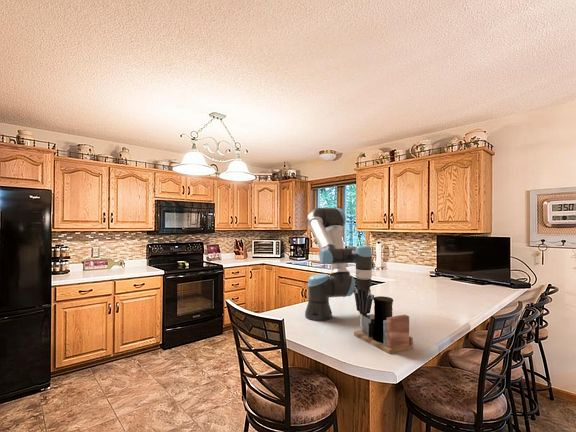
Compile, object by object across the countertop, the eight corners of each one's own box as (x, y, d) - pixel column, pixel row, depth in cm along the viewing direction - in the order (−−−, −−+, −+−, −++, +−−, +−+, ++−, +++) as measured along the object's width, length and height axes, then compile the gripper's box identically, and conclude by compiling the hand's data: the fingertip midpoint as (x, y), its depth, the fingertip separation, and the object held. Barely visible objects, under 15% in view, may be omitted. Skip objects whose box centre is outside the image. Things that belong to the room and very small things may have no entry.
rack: (353, 335, 145) (353, 306, 145) (375, 331, 151) (375, 303, 151) (389, 353, 124) (389, 320, 125) (412, 348, 130) (412, 316, 130)
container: (389, 335, 141) (389, 295, 141) (397, 343, 132) (396, 300, 132) (370, 335, 140) (370, 295, 141) (376, 343, 131) (376, 300, 132)
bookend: (358, 332, 144) (358, 316, 144) (375, 329, 148) (375, 313, 149) (368, 337, 138) (368, 320, 138) (385, 333, 142) (385, 317, 142)
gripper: (349, 276, 153) (348, 324, 153) (365, 280, 142) (365, 332, 142) (361, 275, 157) (361, 322, 156) (378, 279, 145) (378, 330, 145)
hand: (363, 326), depth 149 cm, fingers closed
